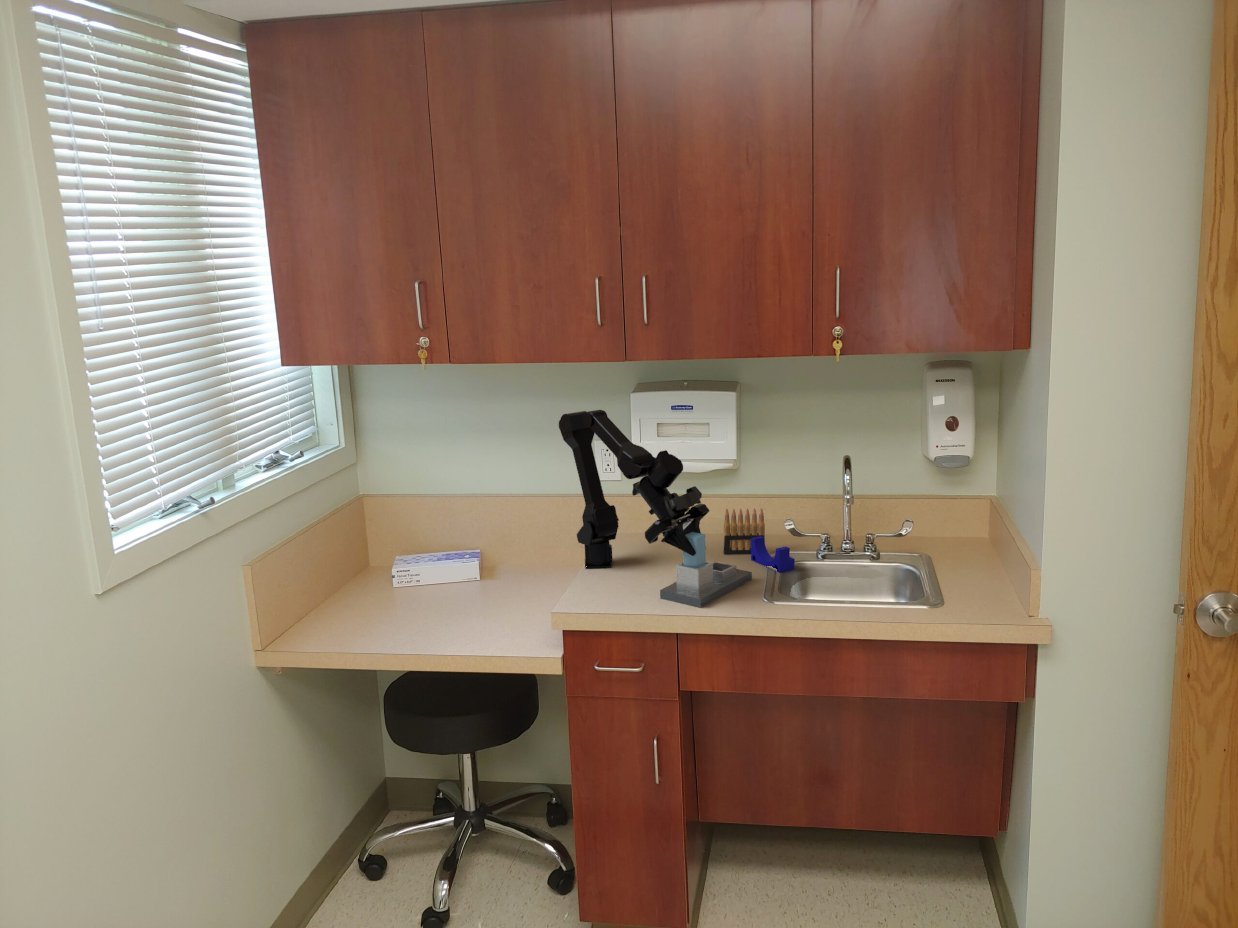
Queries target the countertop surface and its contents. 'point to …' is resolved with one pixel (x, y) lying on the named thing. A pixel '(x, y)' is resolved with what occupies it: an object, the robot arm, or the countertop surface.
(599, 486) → the robot arm
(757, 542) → the cable clip
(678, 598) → the grey peg holder base
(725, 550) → the ammunition clip
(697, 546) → the plug
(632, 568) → the countertop surface
